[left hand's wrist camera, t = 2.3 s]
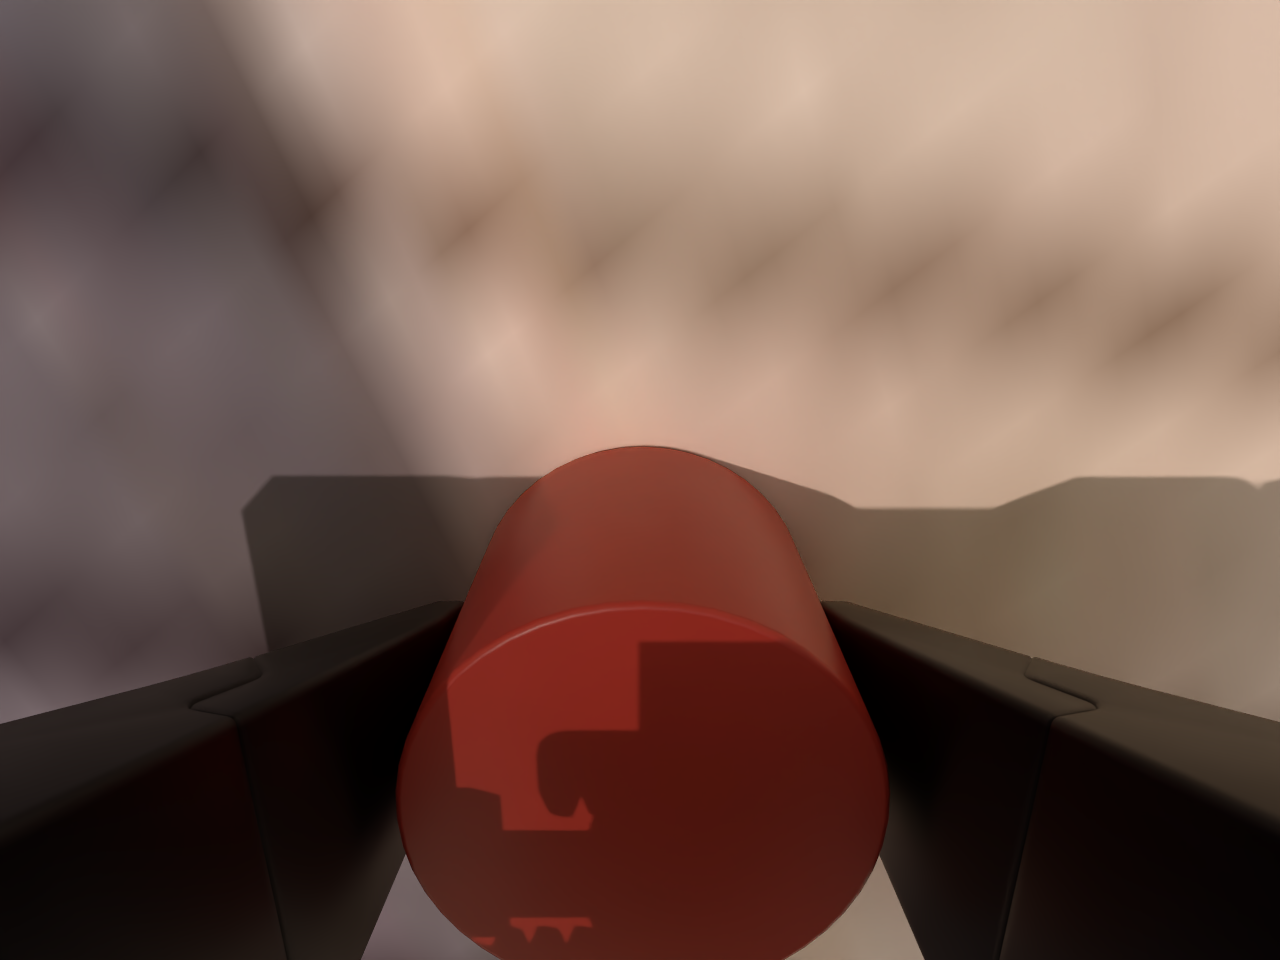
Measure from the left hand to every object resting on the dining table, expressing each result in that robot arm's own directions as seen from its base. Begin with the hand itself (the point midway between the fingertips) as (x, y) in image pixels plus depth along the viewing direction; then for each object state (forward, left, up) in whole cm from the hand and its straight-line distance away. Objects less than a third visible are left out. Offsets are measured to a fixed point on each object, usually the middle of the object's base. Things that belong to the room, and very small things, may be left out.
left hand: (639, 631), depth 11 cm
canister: (0, 0, -1) cm, 1 cm away
